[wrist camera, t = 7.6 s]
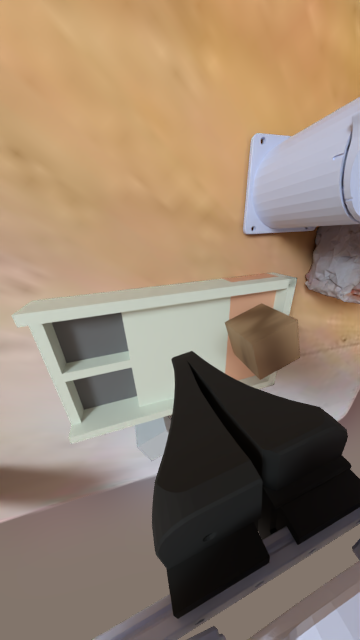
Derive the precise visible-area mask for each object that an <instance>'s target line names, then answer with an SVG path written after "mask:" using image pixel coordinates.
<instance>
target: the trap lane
mask: <svg viewBox="0 0 360 640" xmlns="http://www.w3.org/2000/svg"><path fill="white" fill-rule="evenodd" d="M296 281H297V278H295V277H291V276H286V275H282V274H277V273H266V274H257V275H249V276H240V277H232V278H223V279H215V280H206V281H197V282H189V283H180V284H172V285H163V286H155V287H146V288H138V289H129V290H120V291H112V292H103V293H95V294H86V295H78V296H69V297H61V298H52V299H43V300H35V301H31V302H29V303H28V304H26V305H25V306H24V307H22V308H21V309H19V310H18V311H17V312H15V313H14V314H13V315H12V317H13V319H14V322H15V324H16V326H17V327H24V326H29V328H30V330H31V333H32V335H33V337H34V340H35V342H36V344H37V346H38V349H39V351H40V353H41V356H42V358H43V360H44V363H45V365H46V367H47V370H48V372H49V374H50V377H51V379H52V381H53V383H54V386H55V388H56V390H57V393H58V395H59V397H60V400H61V402H62V404H63V407H64V409H65V411H66V414H67V416H68V418H69V421H70V423H71V425H72V426H71V430H70V434H69V437H68V438H69V440H70V443H71V444H73V443H76V442H80V441H83V440H87V439H90V438H93V437H97V436H100V435H104V434H107V433H111V432H114V431H117V430H121V429H124V428H128V427H131V426H134V425H138V424H141V423H145V422H148V421H151V420H155V419H158V418H162V417H165V416H169V415H172V412H173V404H174V390H175V377H174V368H173V364H172V361H171V359H172V358H173V357H175V356H178V355H181V354H184V353H187V352H190V351H193V352H194V353H196V354H197V355H198V356H200V357H201V358H202V359H204V360H205V361H206V362H208V363H209V364H211V365H212V366H214V367H215V368H217V369H218V370H220V371H222V372H223V373H225V374H227V375H229V376H230V377H232V378H234V379H236V380H238V381H240V382H242V383H244V384H247V385H249V386H251V387H254V388H256V389H261V388H264V387H268V386H271V385H274V382H275V377H276V373H277V371H275V372H274V373H272V374H270V375H268V376H267V377H265V378H263V379H261V380H260V379H259V378H258V377H257V376H256V375H255V374H254V373H253V372H252V371H251V370H250V369H249V368H248V367H247V366H246V365H245V364H244V363H243V362H242V361H241V360H240V359H239V358H238V357H237V356H236V355H235V354H234V352H233V349H232V346H231V342H230V339H229V336H228V332H227V329H226V326H225V322H226V321H228V320H230V319H232V318H234V317H236V316H238V315H240V314H242V313H244V312H246V311H247V310H249V309H251V308H253V307H255V306H257V305H259V304H261V303H262V304H264V305H266V306H269V307H271V308H273V309H275V310H277V311H279V312H282V313H284V314H286V315H288V316H289V313H290V309H291V304H292V300H293V295H294V291H295V286H296Z"/></svg>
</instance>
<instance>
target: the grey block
mask: <svg viewBox="0 0 360 640" xmlns="http://www.w3.org/2000/svg"><path fill="white" fill-rule="evenodd" d="M170 424H171V419H170V418H169V417H168V416H165V417H162V418H158V419H155V420H151V421H148V422H145V423H141V424H138V425H135V431H136V442H137V448H138V449H139V450H140V451H141V452H143V453H144V454H145V455H146V456H147V457H148V458H149V459H150V460H151V461H153V460H155V459H156V458H158V457H160V456H162V455H163V454H164V450H165V446H166V442H167V438H168V434H169V429H170Z"/></svg>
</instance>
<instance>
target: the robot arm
mask: <svg viewBox="0 0 360 640" xmlns="http://www.w3.org/2000/svg"><path fill="white" fill-rule="evenodd" d="M261 139H262V141H263V144H261ZM351 224H360V97H358V98H357V99H355V100H353V101H352V102H350V103H348V104H346V105H345V106H343V107H341V108H340V109H338V110H336V111H335V112H333V113H331V114H329V115H328V116H326V117H324V118H323V119H321V120H319V121H317V122H316V123H314V124H312V125H311V126H309V127H307V128H305V129H304V130H302V131H300V132H299V133H297V134H295V135H293V136H283V135H273V134H263V133H257V134H255V135H254V136H253V137H252V139H251V146H250V158H249V169H248V181H247V192H246V204H245V215H244V226H243V231H244V233H245V234H262V233H280V232H299V231H313V230H314V229H315V228H316V226H333V225H351ZM252 227H253V231H252V230H251V228H252ZM171 361H172V364H173V368H174V377H175V390H174V404H173V412H172V418H171V424H170V429H169V434H168V438H167V442H166V446H165V450H164V454H163V457H162V461H161V464H160V467H159V470H158V473H157V477H156V480H155V486H154V495H153V509H152V529H153V537H154V546H155V552H156V555H157V557H158V558H159V559H160V560H161V562H162V563H163V564H164V566H165V567H166V568H167V576H168V583H169V589H170V594H169V595H167V596H165V597H164V598H162V599H160V600H159V601H157V602H155V603H153V604H152V605H150V606H148V607H147V608H145V609H143V610H141V611H140V612H138V613H136V614H135V615H133V616H131V617H129V618H128V619H126V620H124V621H123V622H121V623H119V624H117V625H116V626H114V627H112V628H111V629H109V630H107V631H105V632H104V633H102V634H101V635H99V636H97V637H95V638H93V639H92V640H177V639H179V638H181V637H182V636H184V635H185V634H187V633H188V632H190V631H192V630H193V629H195V628H196V627H198V626H199V625H201V624H203V623H204V622H206V621H207V620H209V619H210V618H212V617H214V616H215V615H217V614H218V613H220V612H221V611H223V610H225V609H226V608H228V607H229V606H231V605H232V604H234V603H236V602H237V601H239V600H240V599H242V598H244V597H245V596H247V595H248V594H250V593H251V592H253V591H255V590H256V589H258V588H259V587H261V586H262V585H264V584H266V583H267V582H268V581H270V580H272V579H274V578H275V577H277V576H278V575H280V574H281V573H283V572H285V571H286V570H288V569H289V568H291V567H292V566H294V565H296V564H297V563H299V562H300V561H302V560H303V559H305V558H307V557H308V556H310V555H311V554H313V553H314V552H316V551H318V550H319V549H321V548H322V547H324V546H325V545H327V544H329V543H330V542H332V541H333V540H335V539H337V538H338V537H340V536H341V535H343V534H344V533H346V532H348V531H349V530H351V529H352V528H354V527H355V526H357V525H358V524H360V479H359V478H358V477H357V476H356V475H355V474H354V473H353V472H352V471H351V470H350V468H351V464H350V463H349V462H348V461H347V460H346V459H345V458H344V457H343V456H342V452H343V450H344V447H345V444H346V442H347V437H348V436H347V430H346V429H345V428H344V427H343V426H342V425H341V424H340V423H338V422H337V421H336V420H335V419H334V418H333V417H332V416H330V415H329V414H328V413H327V412H325V411H324V410H323V409H321V408H320V407H317V406H313V405H308V404H304V403H300V402H296V401H292V400H289V399H285V398H282V397H279V396H275V395H273V394H270V393H267V392H264V391H262V390H259V389H256V388H254V387H251V386H249V385H247V384H244V383H242V382H240V381H238V380H236V379H234V378H232V377H230V376H229V375H227V374H225V373H223V372H222V371H220V370H218V369H217V368H215V367H214V366H212V365H211V364H209V363H208V362H206V361H205V360H204V359H202V358H201V357H200V356H198V355H197V354H196V353H194V352H193V351H190V352H187V353H184V354H181V355H178V356H175V357H173V358H172V359H171ZM258 531H259V532H258ZM352 549H353V552H354V553H355V555H356V556H357V557H358V559H359V560H360V539H359V540H358V542H357V543H356V544H355V545H354V546H353V547H352ZM187 640H226V638H225V636H224V635H223V634H219V633H218V629H217V628H216V627H214V626H213V627H211V628H209V629H207V630H205V631H203V632H201V633H199V634H197V635H195V636H193V637H191V638H189V639H187ZM248 640H360V561H358V562H357V563H355V564H354V565H352V566H351V567H349V568H348V569H346V570H345V571H343V572H342V573H340V574H339V575H338V576H336V577H334V578H333V579H331V580H330V581H329V582H327V583H326V584H324V585H323V586H321V587H320V588H319V589H317V590H316V591H314V592H313V593H311V594H310V595H309V596H307V597H306V598H304V599H303V600H301V601H300V602H299V603H297V604H296V605H294V606H293V607H292V608H290V609H289V610H288V611H286V612H285V613H283V614H282V615H281V616H279V617H278V618H276V619H275V620H274V621H272V622H271V623H270V624H268V625H267V626H266V627H264V628H263V629H262V630H260V631H259V632H257V633H256V634H255V635H253V636H252V637H251V638H249V639H248Z"/></svg>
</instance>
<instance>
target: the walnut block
mask: <svg viewBox="0 0 360 640" xmlns="http://www.w3.org/2000/svg"><path fill="white" fill-rule="evenodd" d="M225 326H226V329H227V332H228V336H229V339H230V342H231V346H232V349H233V352H234V354H235V355H236V356H237V357H238V358H239V359H240V360H241V361H242V362H243V363H244V364H245V365H246V366H247V367H248V368H249V369H250V370H251V371H252V372H253V373H254V374H255V375H256V376H257V377H258V378H259V379H260V380H261V379H263V378H265V377H267V376H268V375H270V374H272V373H274V372H275V371H277V370H279V369H281V368H282V367H284V366H286V365H288V364H290V363H291V362H293V361H295V360H297V359H298V358H300V351H299V335H298V320H297V319H295V318H293V317H290V316H288V315H286V314H284V313H282V312H279V311H277V310H275V309H273V308H271V307H269V306H266V305H264V304H262V303H261V304H259V305H257V306H255V307H253V308H251V309H249V310H247V311H246V312H244V313H242V314H240V315H238V316H236V317H234V318H232V319H230V320H228V321H226V322H225Z"/></svg>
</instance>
